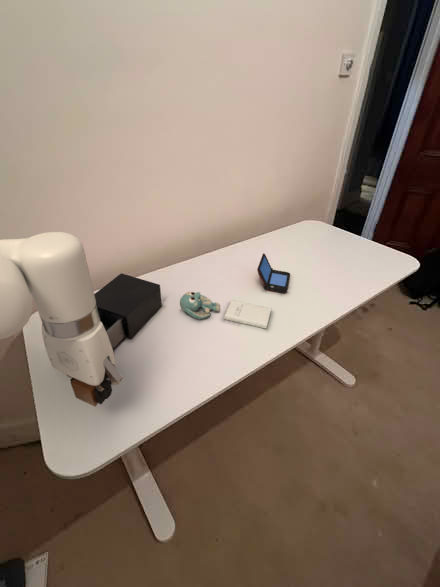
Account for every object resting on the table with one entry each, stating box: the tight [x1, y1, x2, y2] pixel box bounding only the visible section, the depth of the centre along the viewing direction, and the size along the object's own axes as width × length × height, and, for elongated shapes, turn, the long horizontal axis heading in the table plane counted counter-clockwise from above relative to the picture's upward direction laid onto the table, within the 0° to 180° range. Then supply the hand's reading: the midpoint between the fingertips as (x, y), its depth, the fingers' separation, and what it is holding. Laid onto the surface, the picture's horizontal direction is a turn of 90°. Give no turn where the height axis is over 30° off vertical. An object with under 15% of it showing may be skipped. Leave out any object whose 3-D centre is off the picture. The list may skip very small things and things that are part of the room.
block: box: [70, 378, 99, 408], centre depth 54 cm, size 4×4×4 cm
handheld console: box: [257, 252, 291, 294], centre depth 103 cm, size 12×11×7 cm
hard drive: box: [224, 300, 272, 330], centre depth 90 cm, size 2×8×12 cm
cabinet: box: [94, 272, 163, 340], centre depth 86 cm, size 16×14×8 cm
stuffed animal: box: [179, 291, 221, 320], centre depth 90 cm, size 11×7×12 cm
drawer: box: [98, 309, 128, 349], centre depth 76 cm, size 20×12×6 cm, turn 157°
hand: (93, 391), depth 55 cm, fingers closed on block, 4 cm apart
